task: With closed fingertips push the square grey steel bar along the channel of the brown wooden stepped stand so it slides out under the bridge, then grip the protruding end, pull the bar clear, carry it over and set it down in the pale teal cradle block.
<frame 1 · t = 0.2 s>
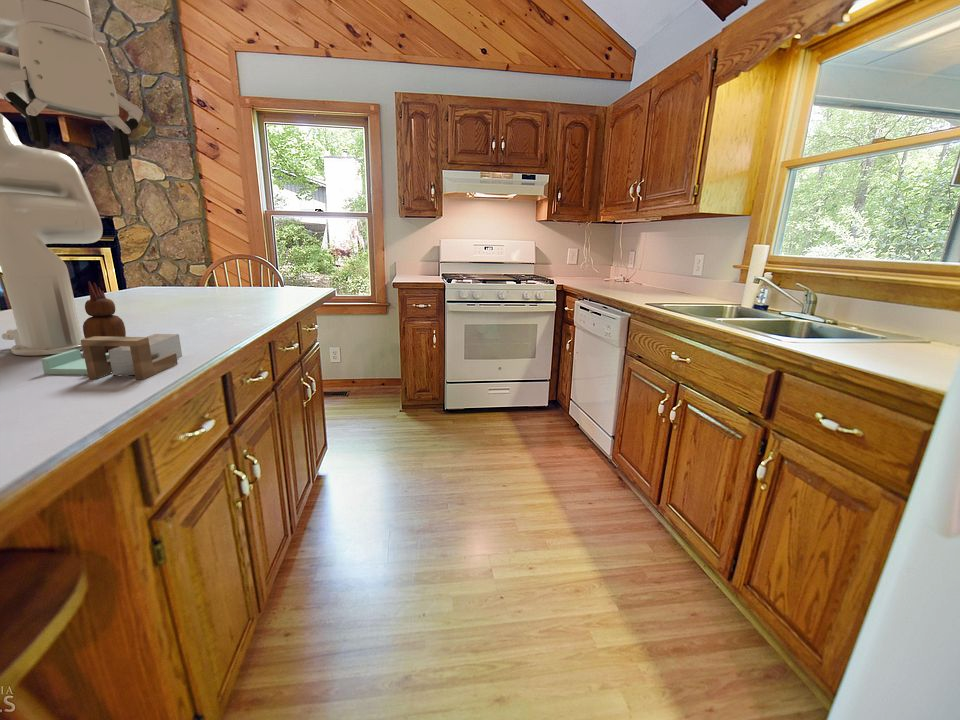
hand: (85, 154, 67), 37 cm above the counter, tool pointing down, fingers open, 9 cm apart
wooden figurine: (109, 350, 93), on the counter
brown wooden stepped stand: (136, 370, 80), on the counter
bar: (148, 354, 83), point 2 cm above the counter
cradle: (86, 368, 80), on the counter
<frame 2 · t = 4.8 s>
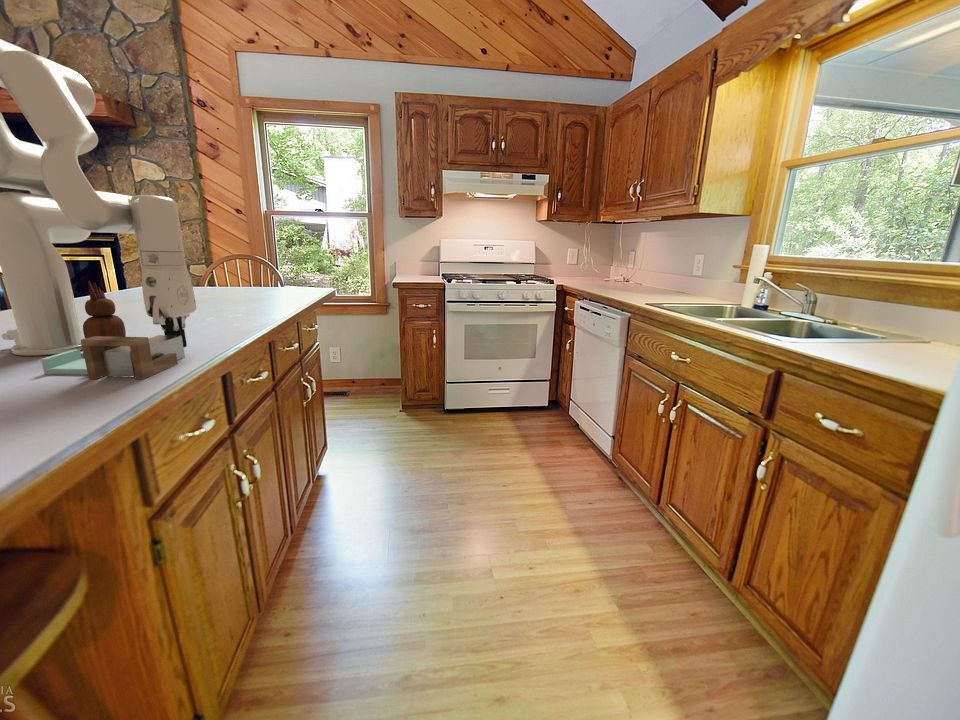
hand: (177, 347, 92), 1 cm above the counter, tool pointing down, fingers closed
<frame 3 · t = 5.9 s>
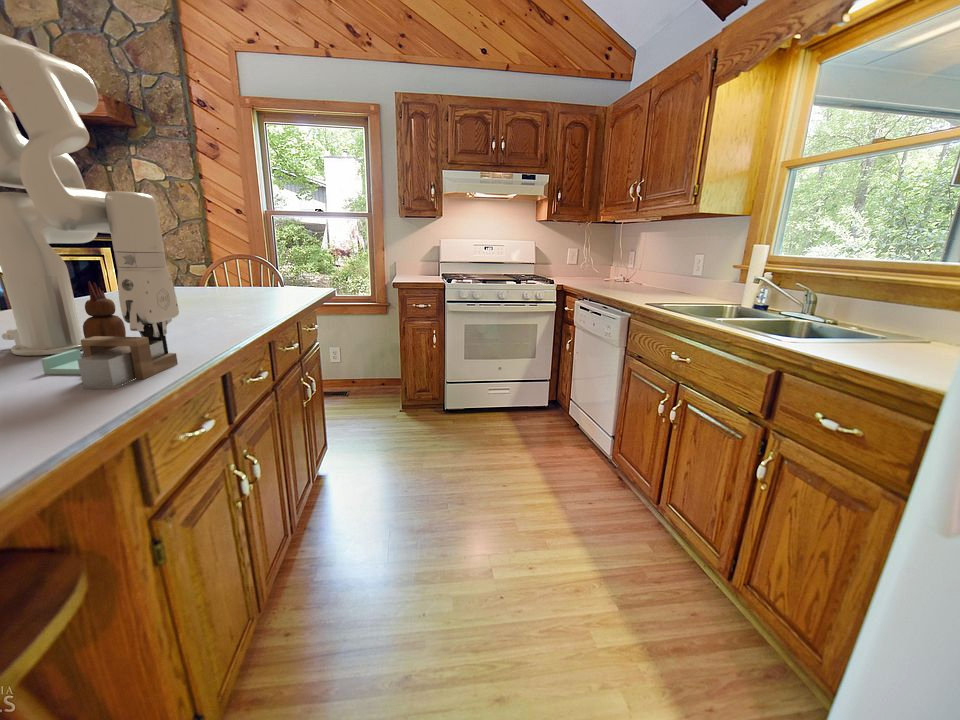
hand: (157, 355, 85), 1 cm above the counter, tool pointing down, fingers closed
bar: (126, 362, 76), point 2 cm above the counter, touching gripper
everything else where it was.
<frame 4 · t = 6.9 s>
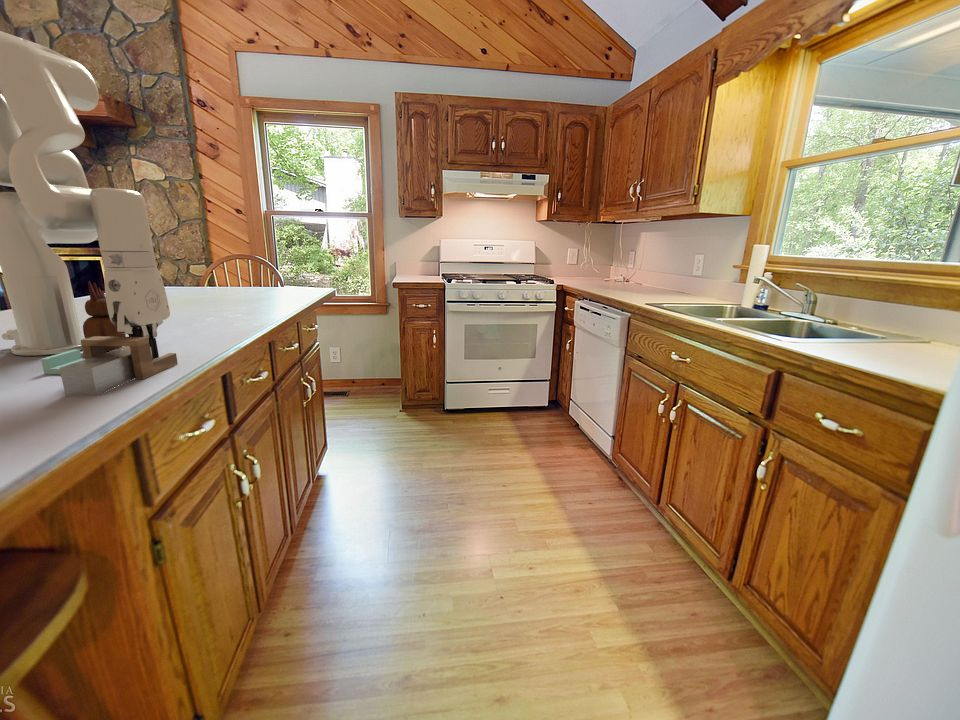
hand: (147, 358, 82), 2 cm above the counter, tool pointing down, fingers closed
bar: (112, 370, 73), point 2 cm above the counter
everything else where it was.
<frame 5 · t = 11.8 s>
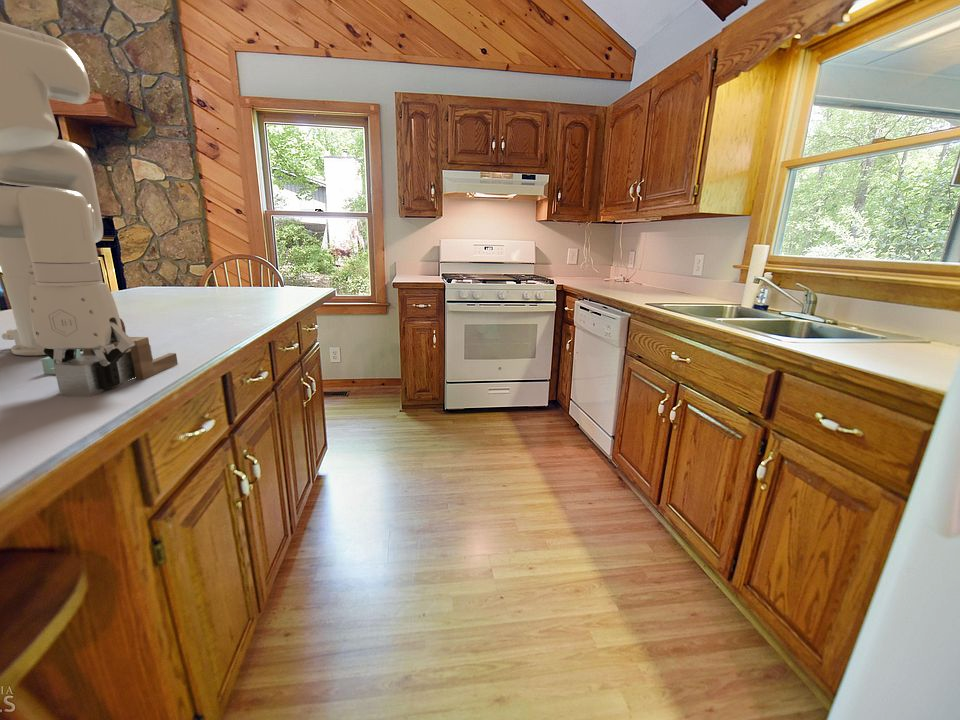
hand: (93, 385, 70), 0 cm above the counter, tool pointing down, fingers closed on bar, 4 cm apart
bar: (109, 368, 73), point 2 cm above the counter, touching gripper
everything else where it was.
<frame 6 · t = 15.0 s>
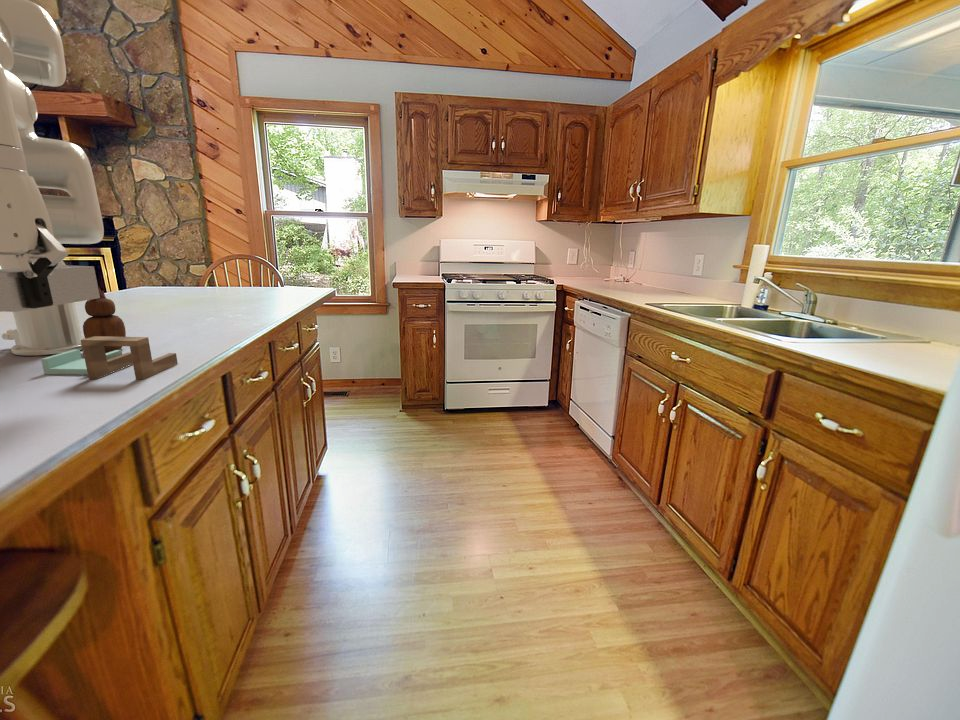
hand: (19, 304, 58), 15 cm above the counter, tool pointing down, fingers closed on bar, 4 cm apart
bar: (41, 286, 61), point 17 cm above the counter, touching gripper
everything else where it was.
when the fingers open (3 cm above the counter, at t = 18.6 s): bar drops 2 cm, resting on cradle.
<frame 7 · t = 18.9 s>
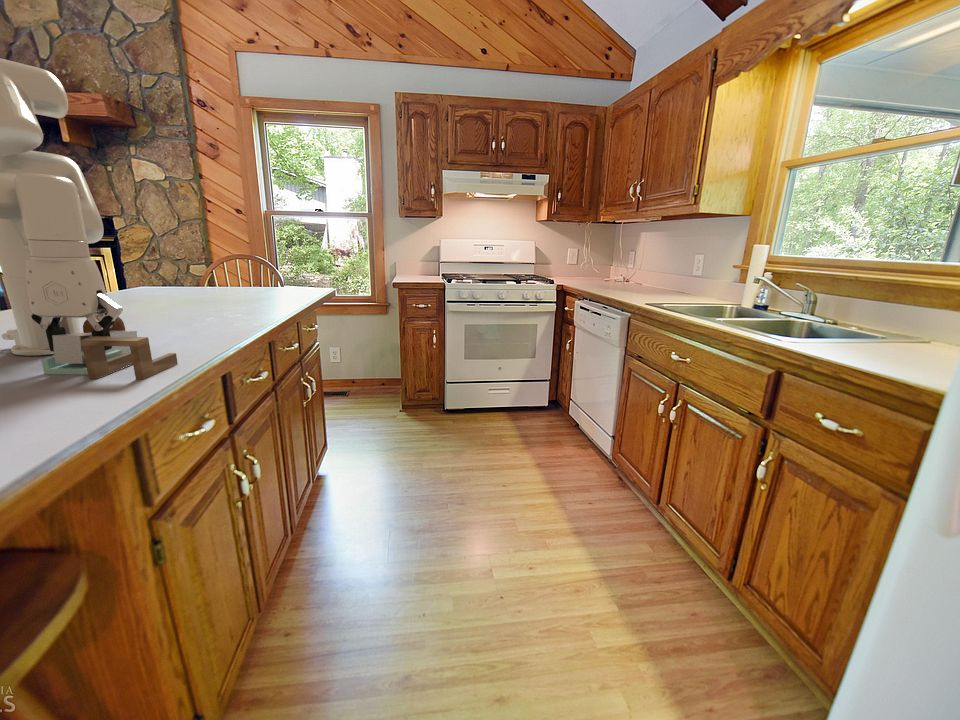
hand: (82, 349, 79), 4 cm above the counter, tool pointing down, fingers open, 7 cm apart
bar: (99, 345, 83), point 3 cm above the counter, tilted 8°, touching cradle
everything else where it was.
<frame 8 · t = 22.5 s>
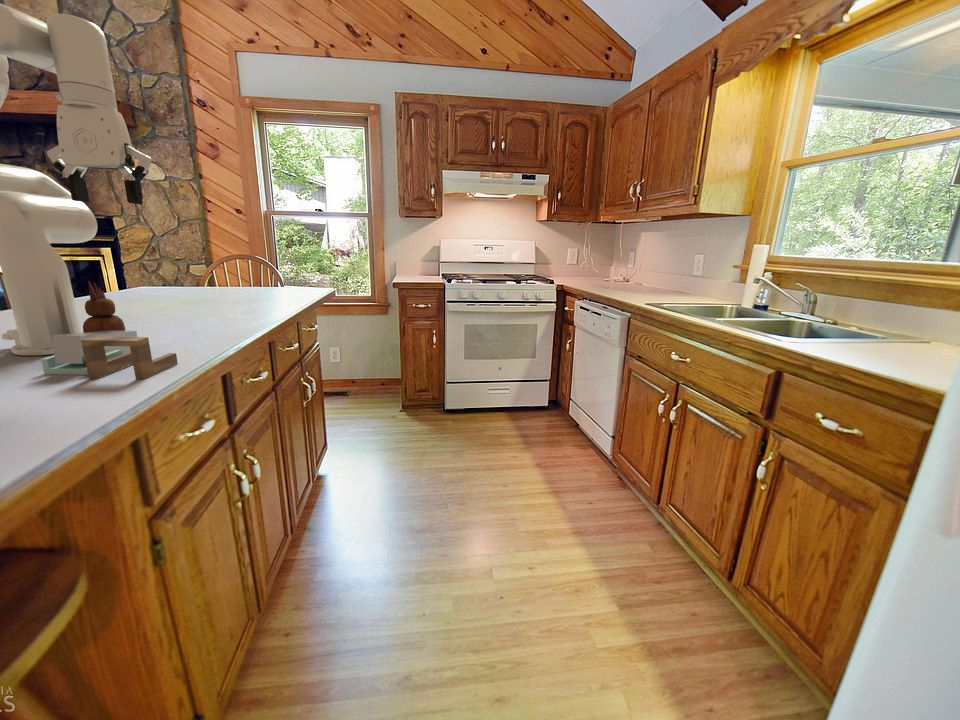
hand: (108, 202, 81), 30 cm above the counter, tool pointing down, fingers open, 9 cm apart
nothing on the counter moved.
at the end: bar inside the target area on the cradle (4.1 cm from its centre), point 3.4 cm above the cradle's base; the gripper is holding nothing; bar tilted 8° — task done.
